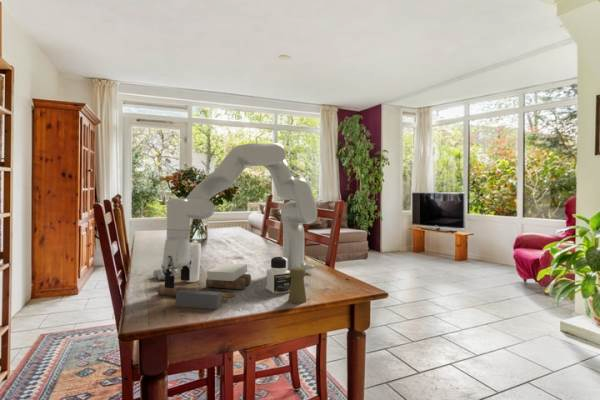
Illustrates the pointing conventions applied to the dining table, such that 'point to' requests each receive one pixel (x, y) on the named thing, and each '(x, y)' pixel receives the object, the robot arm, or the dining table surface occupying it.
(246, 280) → the track
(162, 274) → the bunny figurine
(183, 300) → the grey rectangular bar
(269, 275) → the medicine bottle
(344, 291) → the dining table surface
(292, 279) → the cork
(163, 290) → the roller
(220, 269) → the slab
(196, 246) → the white cup
